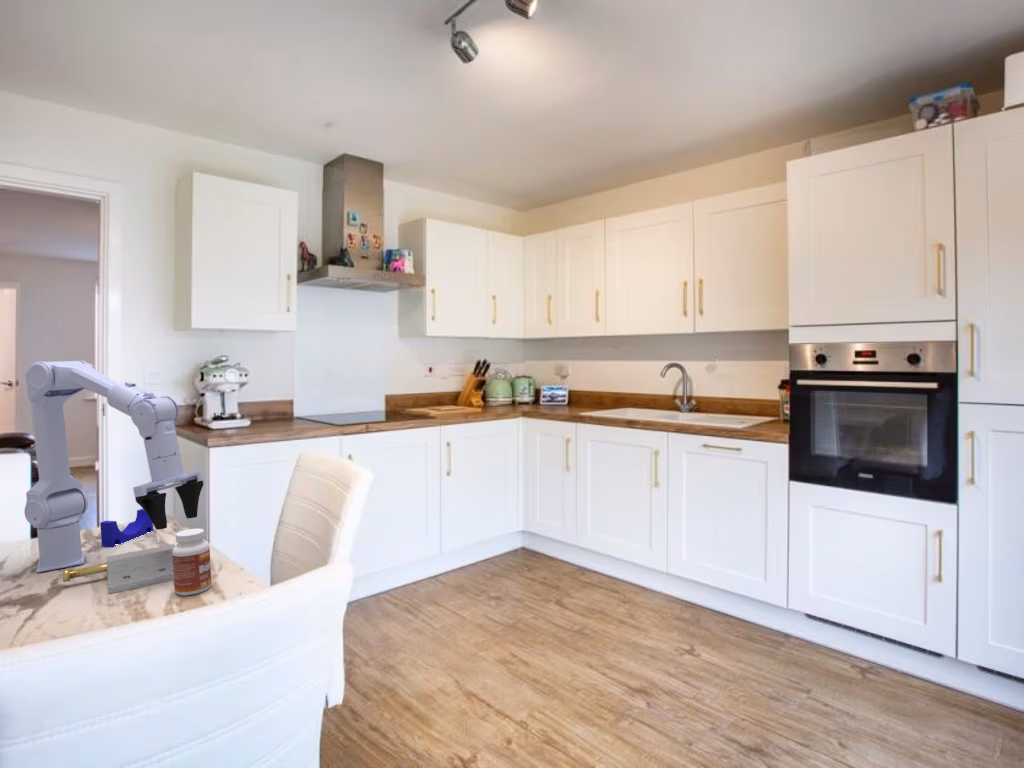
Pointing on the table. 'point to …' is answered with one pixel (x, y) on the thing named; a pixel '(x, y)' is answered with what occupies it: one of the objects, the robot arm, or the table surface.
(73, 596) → the table surface
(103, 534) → the blue u-shaped cradle block
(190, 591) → the pill bottle
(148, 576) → the steel hinge
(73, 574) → the brass headed pin
